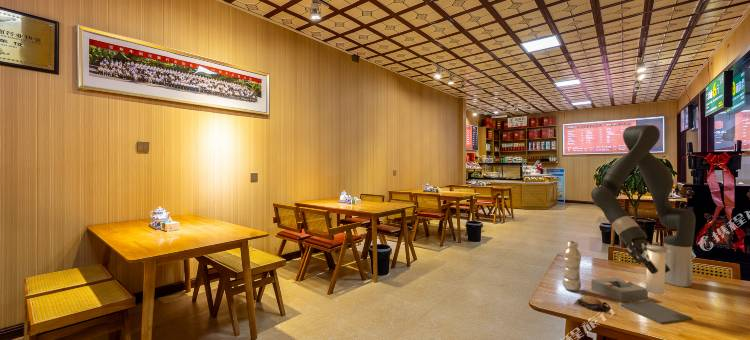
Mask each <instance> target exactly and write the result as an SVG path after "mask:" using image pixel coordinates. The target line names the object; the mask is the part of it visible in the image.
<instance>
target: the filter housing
mask: <svg viewBox="0 0 750 340" xmlns="http://www.w3.org/2000/svg"><path fill="white" fill-rule="evenodd" d="M590 288H591V290H592V291H594V292H597V293H599V294H602V295H604V296H606V297H608V298H611V299H613V300H615V301H617V302H619V303H627V302H633V301H634V302H635V301H646V300H648V299H649V298H648V297H649V296H648V295H649V292H648V291H646V287H643V286H642V285H641V286H640V285H638V284H635V283H633V282H632V281H631V280H625V279H622V278H619V277H608V278H607V277H606V278H599V279H591V287H590Z"/></svg>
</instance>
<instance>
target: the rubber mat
mask: <svg viewBox="0 0 750 340" xmlns="http://www.w3.org/2000/svg"><path fill="white" fill-rule="evenodd" d="M619 305H620V307H622V308H623V309H624V308H625V309H626V310H628V311H631V312H633V313H635V314H637V315H640V316H641V317H644V318H646V319H649V320H651V321H653V322H655V323H658V324H660V325H663V324H670V323H678V322H684V321H691V320H693V317H691V316H690V315H686V314H684V313H682V312H680V311H679V312H678V311H676V310H674V309H671V308H668V307H666V306H664V305H661V304H659V303H656V302H653V301H651V300H647V301H646V300H643V301H637V302H629V303H627V302H626V303H620V304H619Z"/></svg>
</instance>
